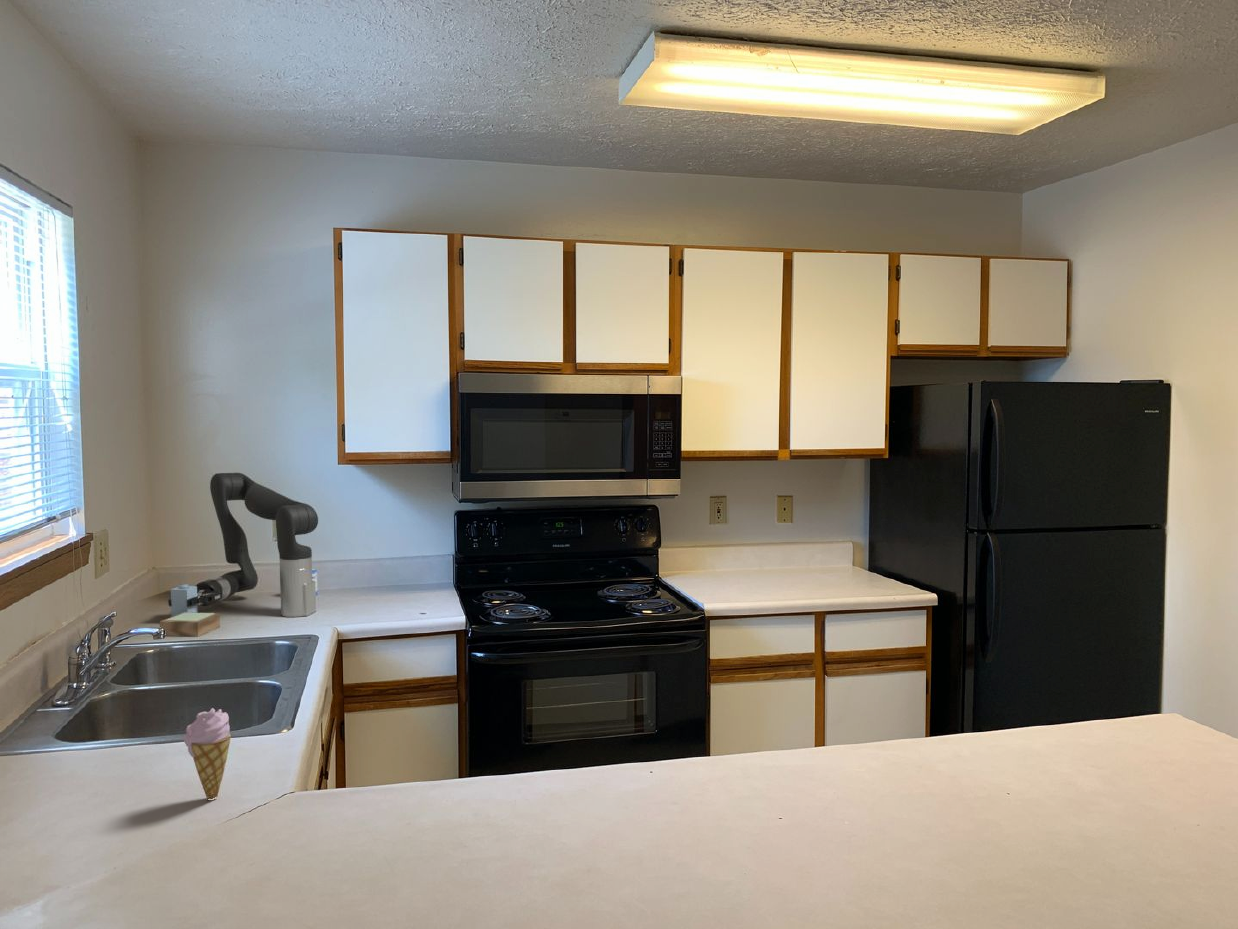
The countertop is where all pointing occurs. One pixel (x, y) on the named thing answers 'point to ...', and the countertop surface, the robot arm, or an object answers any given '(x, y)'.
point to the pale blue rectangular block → (183, 599)
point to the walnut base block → (190, 624)
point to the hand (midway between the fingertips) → (179, 603)
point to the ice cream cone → (209, 748)
